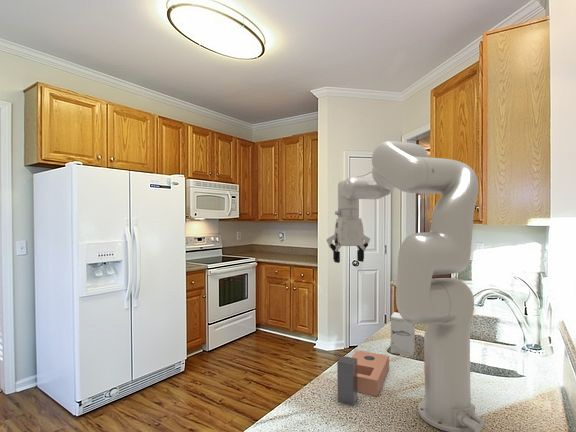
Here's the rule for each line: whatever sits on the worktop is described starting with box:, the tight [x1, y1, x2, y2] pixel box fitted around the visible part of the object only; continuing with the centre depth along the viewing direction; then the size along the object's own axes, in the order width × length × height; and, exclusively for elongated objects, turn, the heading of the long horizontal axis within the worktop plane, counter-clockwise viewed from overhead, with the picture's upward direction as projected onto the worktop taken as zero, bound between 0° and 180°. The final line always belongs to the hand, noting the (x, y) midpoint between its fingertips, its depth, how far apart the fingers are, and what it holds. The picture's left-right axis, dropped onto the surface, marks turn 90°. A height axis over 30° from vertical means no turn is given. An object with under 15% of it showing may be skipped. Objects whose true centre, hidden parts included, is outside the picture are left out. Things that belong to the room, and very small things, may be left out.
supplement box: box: [390, 311, 416, 358], centre depth 114 cm, size 7×7×13 cm
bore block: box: [351, 350, 390, 397], centre depth 95 cm, size 18×10×4 cm, turn 154°
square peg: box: [336, 355, 359, 407], centre depth 83 cm, size 4×4×10 cm
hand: (348, 261), depth 118 cm, fingers open, 9 cm apart
